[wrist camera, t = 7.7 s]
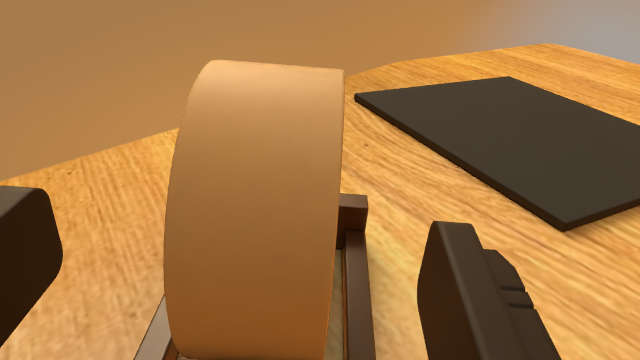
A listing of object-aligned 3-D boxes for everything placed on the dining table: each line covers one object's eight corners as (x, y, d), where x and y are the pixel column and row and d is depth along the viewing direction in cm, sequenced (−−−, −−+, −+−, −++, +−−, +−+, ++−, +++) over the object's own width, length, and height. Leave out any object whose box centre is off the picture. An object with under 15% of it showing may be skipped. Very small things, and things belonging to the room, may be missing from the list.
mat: (353, 99, 42) (354, 93, 42) (507, 81, 51) (508, 76, 50) (562, 232, 25) (566, 223, 25) (737, 170, 34) (741, 163, 34)
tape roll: (177, 428, 14) (137, 130, 9) (238, 236, 23) (234, 30, 18) (319, 439, 14) (352, 147, 9) (326, 243, 23) (345, 39, 18)
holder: (107, 450, 13) (92, 396, 12) (206, 224, 24) (203, 182, 22) (378, 470, 14) (391, 419, 12) (361, 236, 24) (367, 194, 22)
